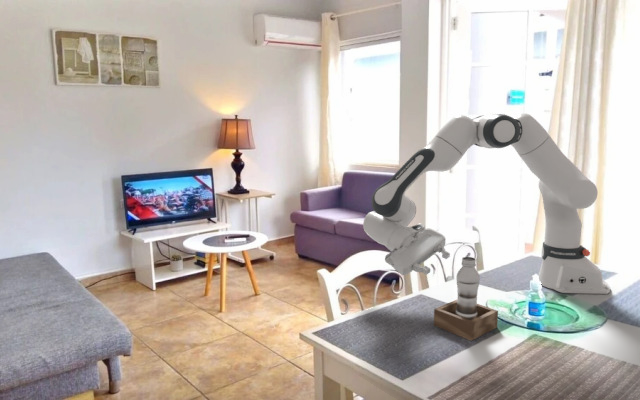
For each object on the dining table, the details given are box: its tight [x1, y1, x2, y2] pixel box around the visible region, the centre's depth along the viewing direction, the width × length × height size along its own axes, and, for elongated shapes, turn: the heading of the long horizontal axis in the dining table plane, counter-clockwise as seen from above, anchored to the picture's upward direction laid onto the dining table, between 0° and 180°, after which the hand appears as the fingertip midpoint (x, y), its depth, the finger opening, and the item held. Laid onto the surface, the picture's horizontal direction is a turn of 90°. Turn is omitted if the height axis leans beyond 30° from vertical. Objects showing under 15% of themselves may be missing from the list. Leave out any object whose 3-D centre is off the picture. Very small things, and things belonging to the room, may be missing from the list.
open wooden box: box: [433, 299, 499, 342], centre depth 141 cm, size 12×12×5 cm
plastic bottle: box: [455, 256, 481, 321], centre depth 140 cm, size 6×7×20 cm
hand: (438, 264), depth 152 cm, fingers open, 8 cm apart
